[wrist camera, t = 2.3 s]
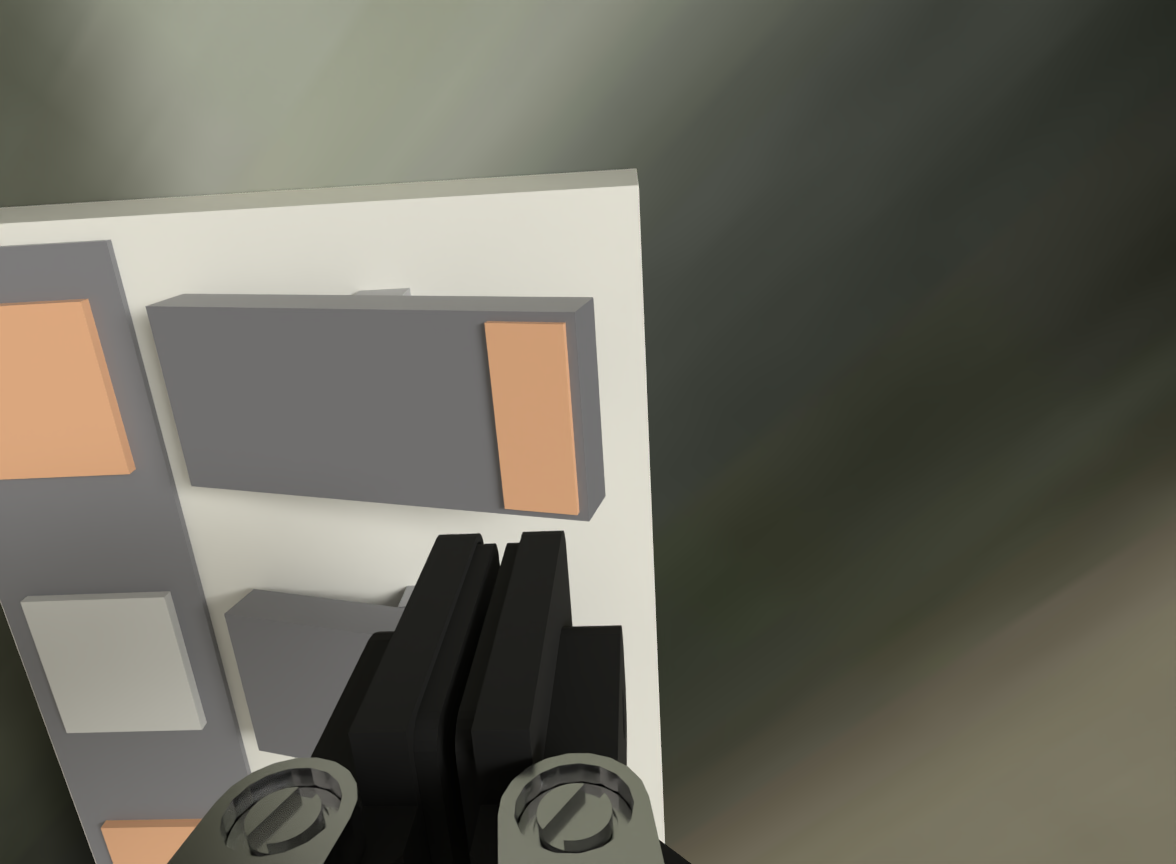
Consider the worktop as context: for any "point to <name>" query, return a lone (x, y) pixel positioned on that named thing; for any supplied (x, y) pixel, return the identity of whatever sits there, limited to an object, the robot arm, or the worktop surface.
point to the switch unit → (254, 519)
